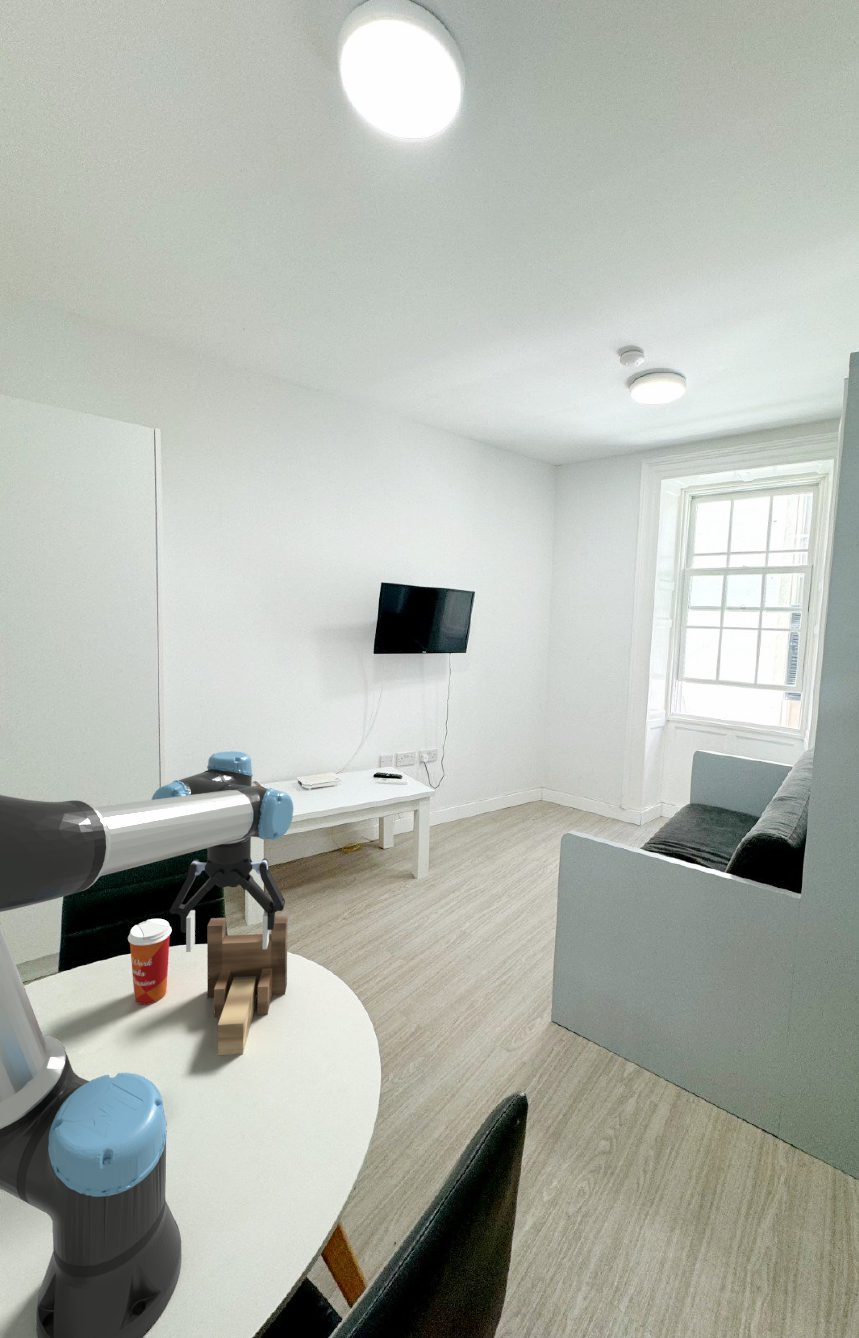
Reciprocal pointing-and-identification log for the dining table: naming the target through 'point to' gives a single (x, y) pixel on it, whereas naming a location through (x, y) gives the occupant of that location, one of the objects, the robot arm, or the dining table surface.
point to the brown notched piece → (246, 962)
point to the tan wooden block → (237, 1016)
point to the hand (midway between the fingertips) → (228, 946)
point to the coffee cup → (150, 959)
